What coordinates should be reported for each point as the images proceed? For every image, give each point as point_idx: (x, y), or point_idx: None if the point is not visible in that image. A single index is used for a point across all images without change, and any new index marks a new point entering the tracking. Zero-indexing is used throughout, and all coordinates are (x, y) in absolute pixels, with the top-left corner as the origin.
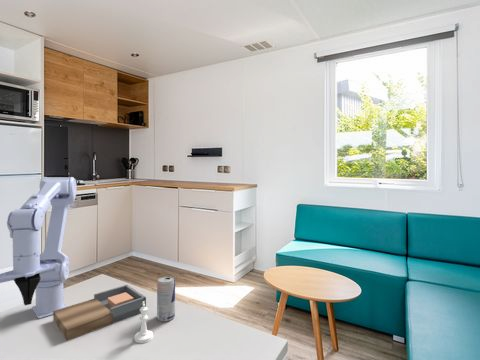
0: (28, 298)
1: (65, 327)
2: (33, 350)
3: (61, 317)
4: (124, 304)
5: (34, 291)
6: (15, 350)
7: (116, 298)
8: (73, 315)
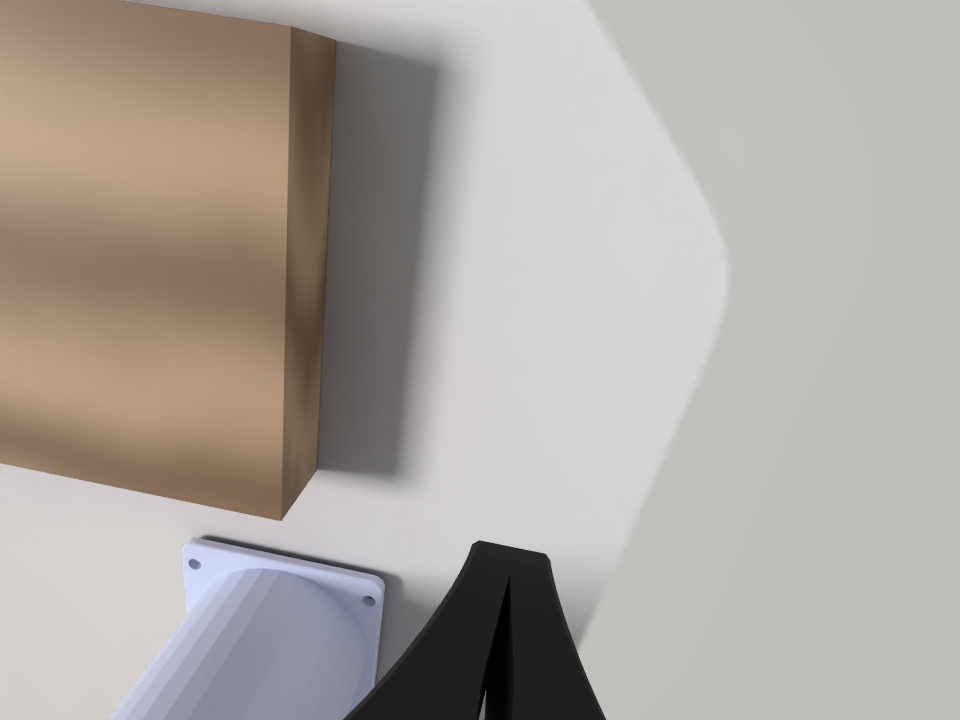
0: (499, 616)
1: (289, 98)
2: (582, 140)
3: (261, 345)
4: None
5: (392, 667)
6: (667, 270)
7: None
8: (165, 288)
